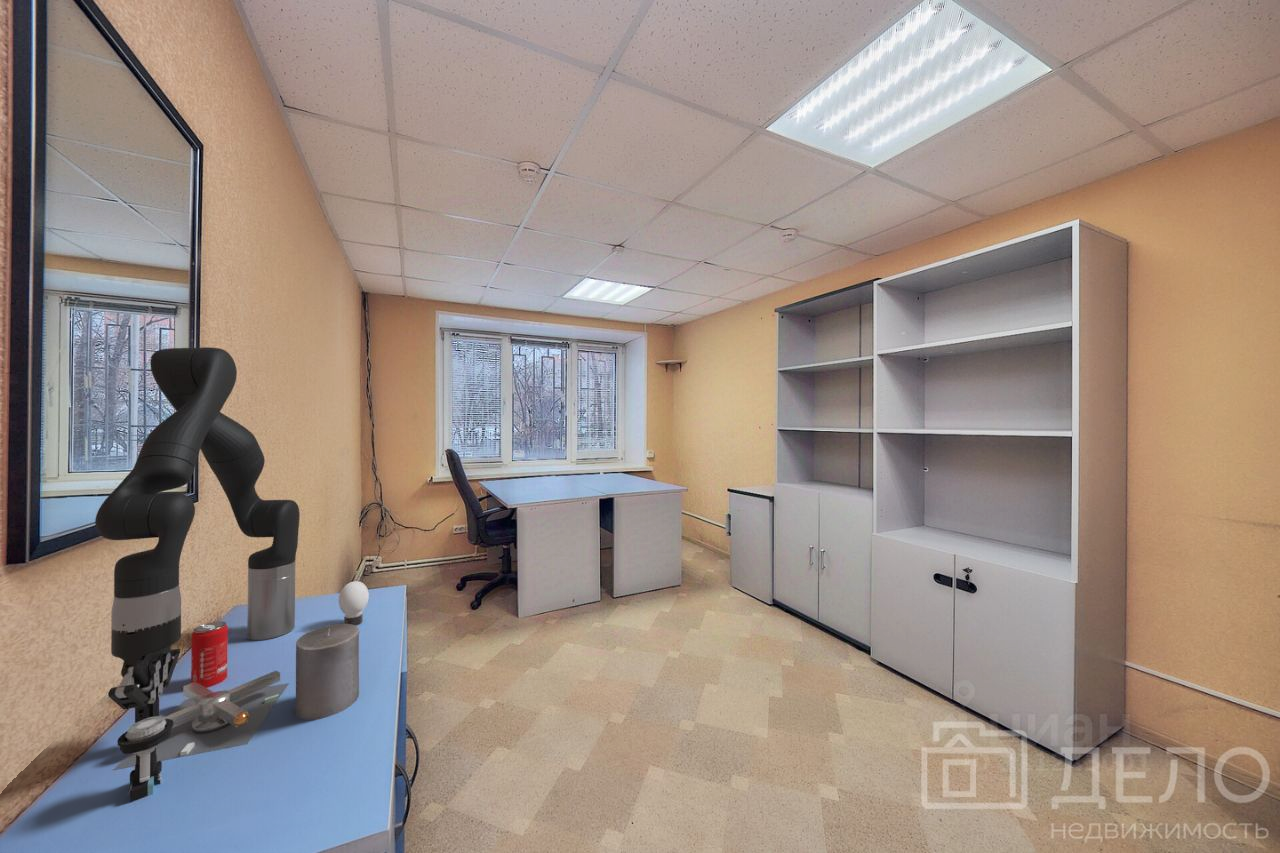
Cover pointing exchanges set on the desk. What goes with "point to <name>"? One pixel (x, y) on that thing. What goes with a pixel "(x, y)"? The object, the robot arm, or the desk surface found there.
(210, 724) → the capstan
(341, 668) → the pillar candle
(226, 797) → the desk surface
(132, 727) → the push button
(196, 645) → the beverage can
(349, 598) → the light bulb
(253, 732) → the stand
